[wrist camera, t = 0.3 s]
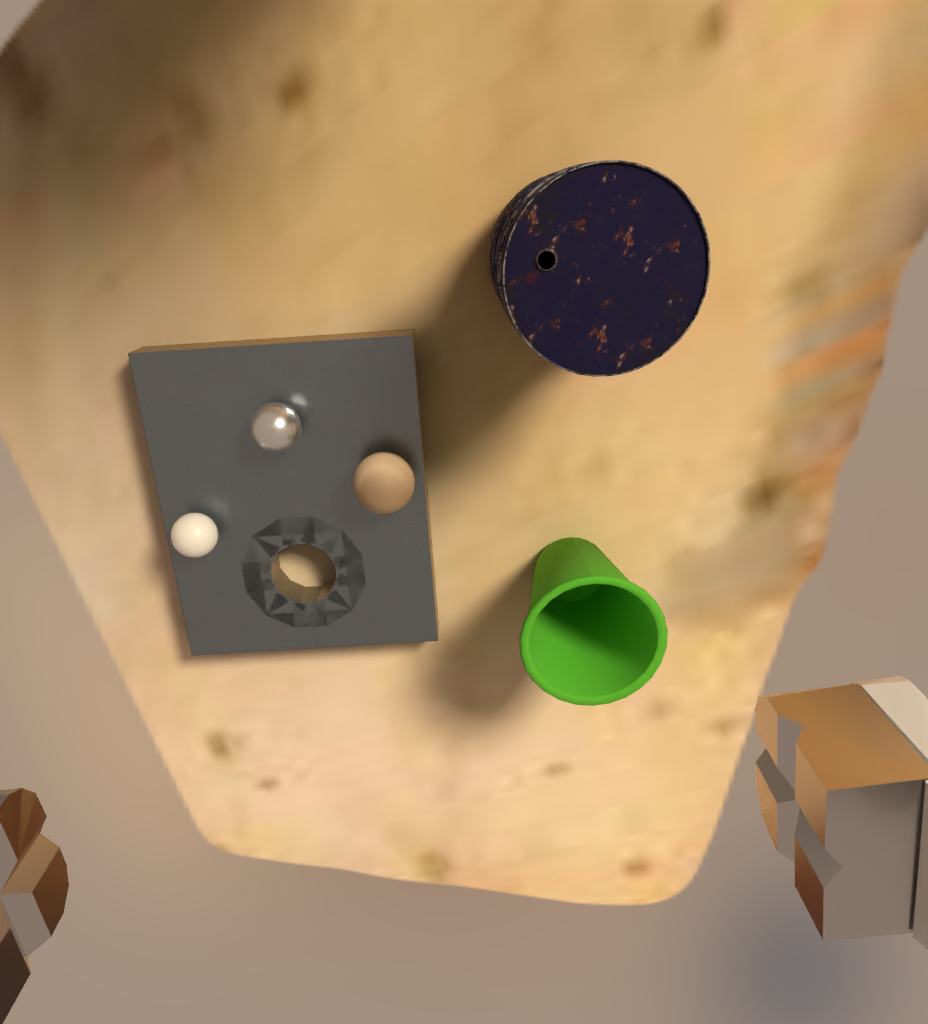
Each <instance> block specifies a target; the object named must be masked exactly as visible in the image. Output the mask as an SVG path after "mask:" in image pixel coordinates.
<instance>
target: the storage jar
mask: <svg viewBox="0 0 928 1024" xmlns="http://www.w3.org/2000/svg"><path fill="white" fill-rule="evenodd" d="M489 256H490V272H491V278H492V282H493V285H494V288H495V291H496V293H497V295H498V297H499V299H500V301H501V303H502V306H503V308H504V310H505V312H506V314H507V316H508V318H509V319H510V321H511V323H512V325H513V326H514V327H515V329H516V330H517V331H518V333H519V334H520V336H521V337H522V338H523V339H524V340H525V341H526V342H527V344H528V345H529V346H530V347H531V348H532V349H533V350H534V351H535V352H536V353H537V354H538V355H540V356H541V357H543V358H544V359H545V360H547V361H548V362H550V363H551V364H553V365H555V366H557V367H559V368H561V369H564V370H566V371H569V372H573V373H576V374H579V375H587V376H595V377H596V376H614V375H619V374H624V373H628V372H631V371H634V370H637V369H640V368H642V367H644V366H646V365H648V364H650V363H651V362H653V361H655V360H657V359H658V358H659V357H661V356H662V355H664V354H665V353H666V352H668V351H669V350H670V349H671V348H672V347H673V346H674V345H675V344H676V343H677V342H678V341H679V340H680V339H681V338H682V337H683V335H684V334H685V333H686V331H687V330H688V329H689V328H690V326H691V325H692V323H693V321H694V319H695V318H696V316H697V314H698V312H699V310H700V307H701V305H702V302H703V300H704V297H705V294H706V290H707V285H708V281H709V273H710V250H709V242H708V238H707V234H706V229H705V227H704V224H703V222H702V219H701V217H700V214H699V212H698V211H697V209H696V207H695V206H694V204H693V203H692V201H691V199H690V198H689V197H688V196H687V195H686V194H685V192H684V191H683V190H682V189H681V188H680V187H679V186H678V185H677V184H676V183H674V182H673V181H672V180H671V179H669V178H668V177H667V176H665V175H663V174H661V173H660V172H658V171H656V170H654V169H652V168H650V167H647V166H644V165H641V164H638V163H633V162H626V161H620V160H617V161H599V162H589V163H584V164H579V165H575V166H572V167H568V168H565V169H563V170H560V171H557V172H554V173H552V174H549V175H546V176H544V177H541V178H539V179H537V180H535V181H534V182H532V183H530V184H529V185H527V186H526V187H525V188H523V189H522V190H521V191H520V192H519V193H517V194H516V196H515V197H514V198H513V199H512V200H511V201H510V202H509V203H508V205H507V206H506V207H505V209H504V211H503V212H502V214H501V215H500V217H499V219H498V221H497V224H496V226H495V228H494V232H493V235H492V239H491V245H490V253H489Z"/></svg>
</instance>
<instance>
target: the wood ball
mask: <svg viewBox="0 0 928 1024" xmlns="http://www.w3.org/2000/svg"><path fill="white" fill-rule="evenodd" d="M414 487H415V479H414V474H413V471H412V469H411V467H410V466H409V464H408V463H407V462H406V461H405V460H404V459H403V458H401V457H400V456H398V455H396V454H393V453H390V452H377V453H374V454H371V455H369V456H367V457H366V458H365V459H363V460H362V461H361V462H360V463H359V465H358V466H357V468H356V470H355V472H354V476H353V490H354V493H355V496H356V498H357V499H358V501H359V502H360V503H361V504H362V505H363V506H364V507H365V508H366V509H368V510H370V511H372V512H375V513H380V514H388V513H393V512H395V511H398V510H400V509H401V508H403V507H404V506H405V505H406V504H407V503H408V502H409V500H410V499H411V497H412V494H413V492H414Z"/></svg>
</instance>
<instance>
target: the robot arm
mask: <svg viewBox="0 0 928 1024" xmlns="http://www.w3.org/2000/svg"><path fill="white" fill-rule="evenodd" d="M755 729H756V731H757V733H758V735H759V736H760V738H761V740H762V741H763V744H764V745H765V747H766V749H765V750H764V752H763V753H762V754H761V756H760V757H759V758H758V760H757V761H756V782H757V791H758V796H759V802H760V807H761V812H762V815H763V818H764V821H765V824H766V826H767V829H768V832H769V834H770V836H771V838H772V840H773V843H774V844H775V847H776V849H777V851H778V852H780V853H781V854H783V855H784V856H786V857H787V858H789V859H790V860H792V861H794V862H795V887H796V889H797V891H798V893H799V895H800V897H801V899H802V900H803V902H804V904H805V906H806V908H807V910H808V912H809V914H810V916H811V918H812V920H813V922H814V924H815V926H816V928H817V930H818V932H819V933H820V936H821V937H822V940H833V939H845V938H857V937H868V936H879V935H893V934H905V933H913V936H912V937H913V938H914V939H915V940H917V941H918V942H919V943H921V944H922V945H923V946H925V947H926V948H927V949H928V699H927V698H926V697H925V696H924V695H923V694H922V693H921V692H920V691H919V690H918V689H917V688H916V687H915V686H914V685H913V684H912V683H911V682H910V681H909V680H908V679H906V678H903V677H900V676H893V677H886V678H879V679H873V680H867V681H860V682H854V683H851V684H850V685H843V686H835V687H828V688H821V689H813V690H806V691H798V692H790V693H783V694H776V695H768V696H760V697H758V699H757V703H756V708H755ZM46 817H47V816H46V814H45V812H44V810H43V808H42V805H41V804H40V801H39V799H38V797H37V795H36V793H34V792H31V791H29V790H26V789H23V788H17V789H8V790H0V1024H3V1022H4V1020H5V1019H6V1017H7V1015H8V1013H9V1011H10V1010H11V1008H12V1006H13V1004H14V1002H15V1001H16V999H17V997H18V995H19V993H20V991H21V990H22V988H23V986H24V984H25V983H26V981H27V979H28V977H29V976H30V968H29V964H28V958H27V956H28V955H30V954H31V953H32V952H33V951H34V950H36V949H37V948H38V947H39V946H40V945H41V944H43V943H44V942H45V941H46V940H48V939H49V938H50V937H51V936H52V934H53V932H54V930H55V928H56V926H57V924H58V923H59V921H60V919H61V917H62V915H63V913H64V908H65V902H66V897H67V892H68V887H69V883H68V875H67V865H66V862H65V860H64V857H63V855H62V852H61V850H60V847H59V846H57V845H56V844H54V843H53V842H52V841H50V840H49V839H47V838H46V837H44V836H43V835H42V834H40V832H41V829H42V827H43V824H44V822H45V819H46Z"/></svg>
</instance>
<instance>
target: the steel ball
mask: <svg viewBox="0 0 928 1024" xmlns="http://www.w3.org/2000/svg"><path fill="white" fill-rule="evenodd" d="M301 431H302V426H301V421H300V418H299V416H298V414H297V413H296V412H295V410H293V409H292V408H291V407H290V406H288V405H286V404H283V403H279V402H272V403H267V404H264V405H263V406H261V407H259V408H258V409H257V410H256V411H255V413H254V414H253V416H252V418H251V422H250V432H251V436H252V438H253V440H254V441H255V443H256V444H257V445H258V446H259V447H260V448H262V449H263V450H265V451H268V452H272V453H281V452H285V451H287V450H289V449H291V448H292V447H293V446H294V445H295V444H296V443H297V442H298V440H299V438H300V436H301Z"/></svg>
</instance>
